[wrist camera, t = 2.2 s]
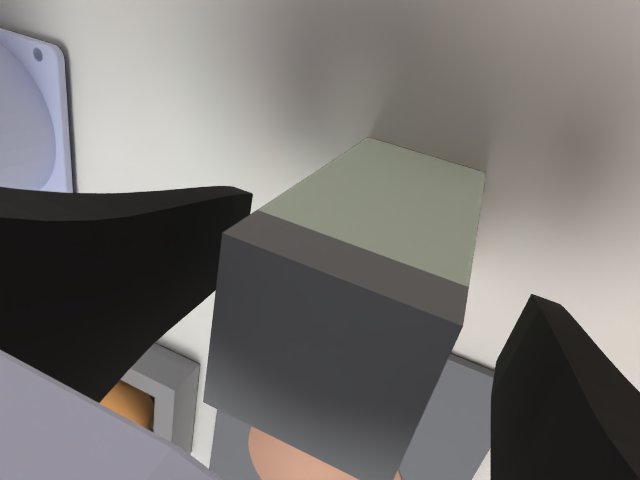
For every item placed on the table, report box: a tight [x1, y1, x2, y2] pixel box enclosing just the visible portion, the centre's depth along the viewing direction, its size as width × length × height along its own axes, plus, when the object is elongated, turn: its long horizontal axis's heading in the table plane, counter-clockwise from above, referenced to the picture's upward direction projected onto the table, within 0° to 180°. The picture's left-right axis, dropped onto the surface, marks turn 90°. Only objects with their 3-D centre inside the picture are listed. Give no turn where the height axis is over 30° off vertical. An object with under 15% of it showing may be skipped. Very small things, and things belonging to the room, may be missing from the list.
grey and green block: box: [203, 137, 486, 480], centre depth 12 cm, size 4×4×9 cm
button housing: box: [120, 343, 200, 454], centre depth 24 cm, size 7×7×2 cm
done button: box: [100, 380, 155, 430], centre depth 23 cm, size 4×4×2 cm
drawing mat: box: [209, 354, 495, 480], centre depth 22 cm, size 12×18×1 cm, turn 168°
